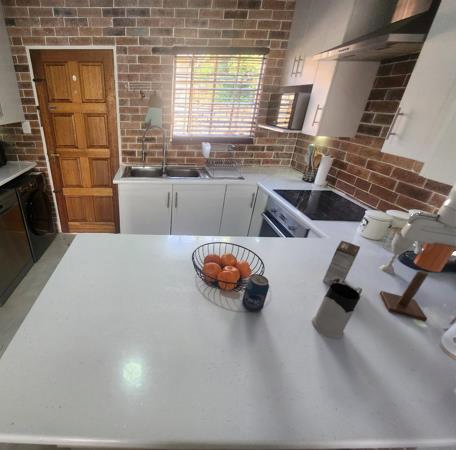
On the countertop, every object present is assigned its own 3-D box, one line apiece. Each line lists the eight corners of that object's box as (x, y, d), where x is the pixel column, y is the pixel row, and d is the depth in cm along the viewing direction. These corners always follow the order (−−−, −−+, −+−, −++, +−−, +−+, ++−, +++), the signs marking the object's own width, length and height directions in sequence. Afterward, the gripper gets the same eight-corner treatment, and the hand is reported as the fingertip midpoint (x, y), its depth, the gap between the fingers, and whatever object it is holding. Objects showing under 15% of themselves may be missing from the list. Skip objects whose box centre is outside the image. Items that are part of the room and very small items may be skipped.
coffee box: (327, 272, 106) (341, 239, 99) (345, 279, 102) (361, 246, 95) (321, 281, 101) (336, 247, 93) (340, 289, 97) (356, 255, 89)
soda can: (240, 310, 85) (247, 283, 79) (241, 297, 91) (248, 270, 85) (262, 316, 83) (271, 288, 77) (262, 302, 89) (270, 275, 83)
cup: (434, 263, 83) (450, 240, 79) (445, 274, 77) (462, 249, 73) (410, 258, 85) (424, 235, 81) (418, 268, 80) (433, 244, 76)
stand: (412, 302, 91) (435, 268, 84) (425, 321, 83) (451, 285, 76) (379, 293, 95) (398, 260, 88) (388, 311, 87) (410, 276, 80)
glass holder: (305, 320, 82) (321, 285, 75) (333, 309, 87) (350, 275, 80) (331, 342, 75) (350, 305, 68) (360, 327, 80) (380, 292, 73)
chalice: (401, 275, 106) (423, 239, 98) (385, 274, 106) (406, 238, 98) (387, 265, 113) (407, 230, 105) (372, 264, 113) (391, 230, 104)
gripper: (417, 214, 74) (396, 252, 81) (515, 229, 67) (482, 270, 73) (409, 207, 80) (389, 244, 86) (498, 220, 72) (469, 260, 78)
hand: (433, 256), depth 79 cm, fingers closed on cup, 6 cm apart
